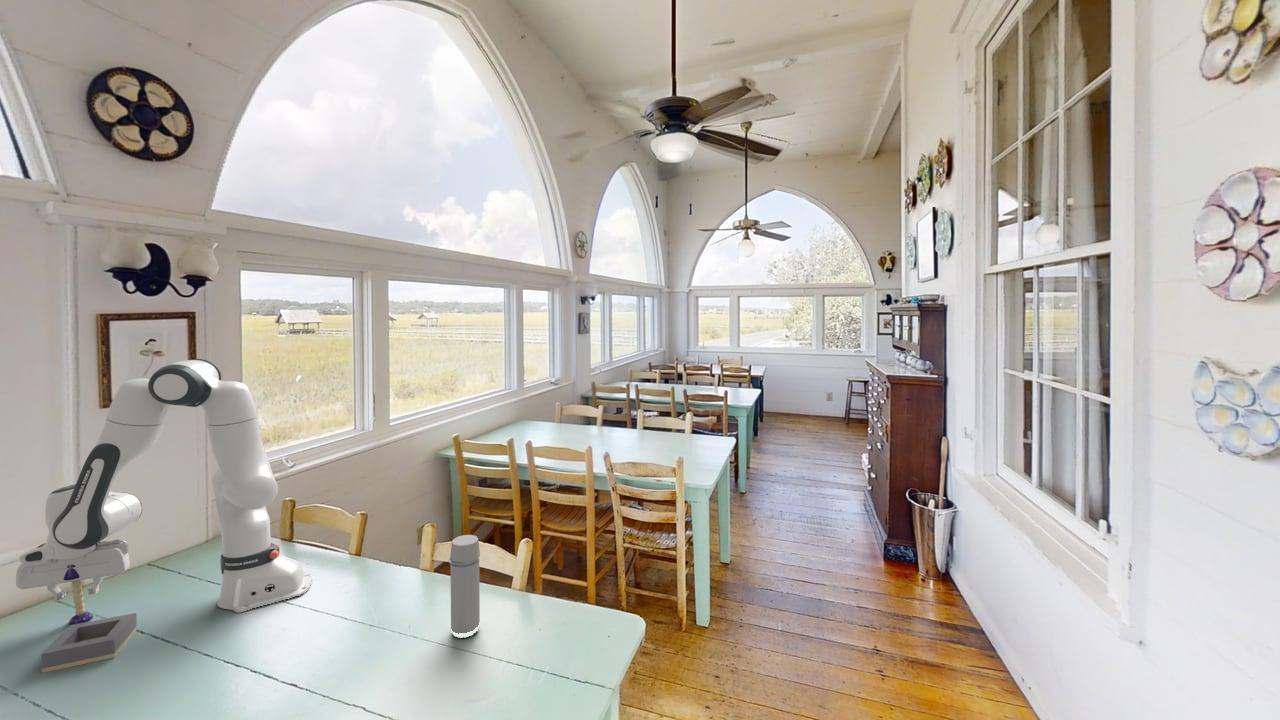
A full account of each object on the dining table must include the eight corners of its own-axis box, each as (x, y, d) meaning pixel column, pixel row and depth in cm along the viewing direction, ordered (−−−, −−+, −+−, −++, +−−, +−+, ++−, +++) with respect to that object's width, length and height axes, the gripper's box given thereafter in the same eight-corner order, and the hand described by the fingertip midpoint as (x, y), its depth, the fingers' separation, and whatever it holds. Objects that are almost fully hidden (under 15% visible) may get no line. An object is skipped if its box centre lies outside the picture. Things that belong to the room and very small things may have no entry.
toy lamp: (73, 628, 128) (69, 566, 127) (60, 625, 129) (56, 564, 128) (97, 617, 133) (93, 557, 132) (84, 615, 134) (80, 555, 133)
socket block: (137, 629, 128) (136, 612, 128) (114, 657, 118) (113, 639, 118) (71, 642, 123) (70, 625, 123) (42, 672, 112) (41, 654, 112)
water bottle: (486, 630, 131) (486, 539, 129) (459, 645, 125) (458, 549, 123) (467, 616, 137) (466, 529, 135) (440, 630, 131) (439, 538, 129)
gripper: (133, 533, 137) (135, 581, 138) (25, 547, 128) (29, 598, 129) (122, 542, 132) (125, 592, 133) (9, 558, 122) (13, 611, 123)
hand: (77, 595), depth 131 cm, fingers open, 5 cm apart
